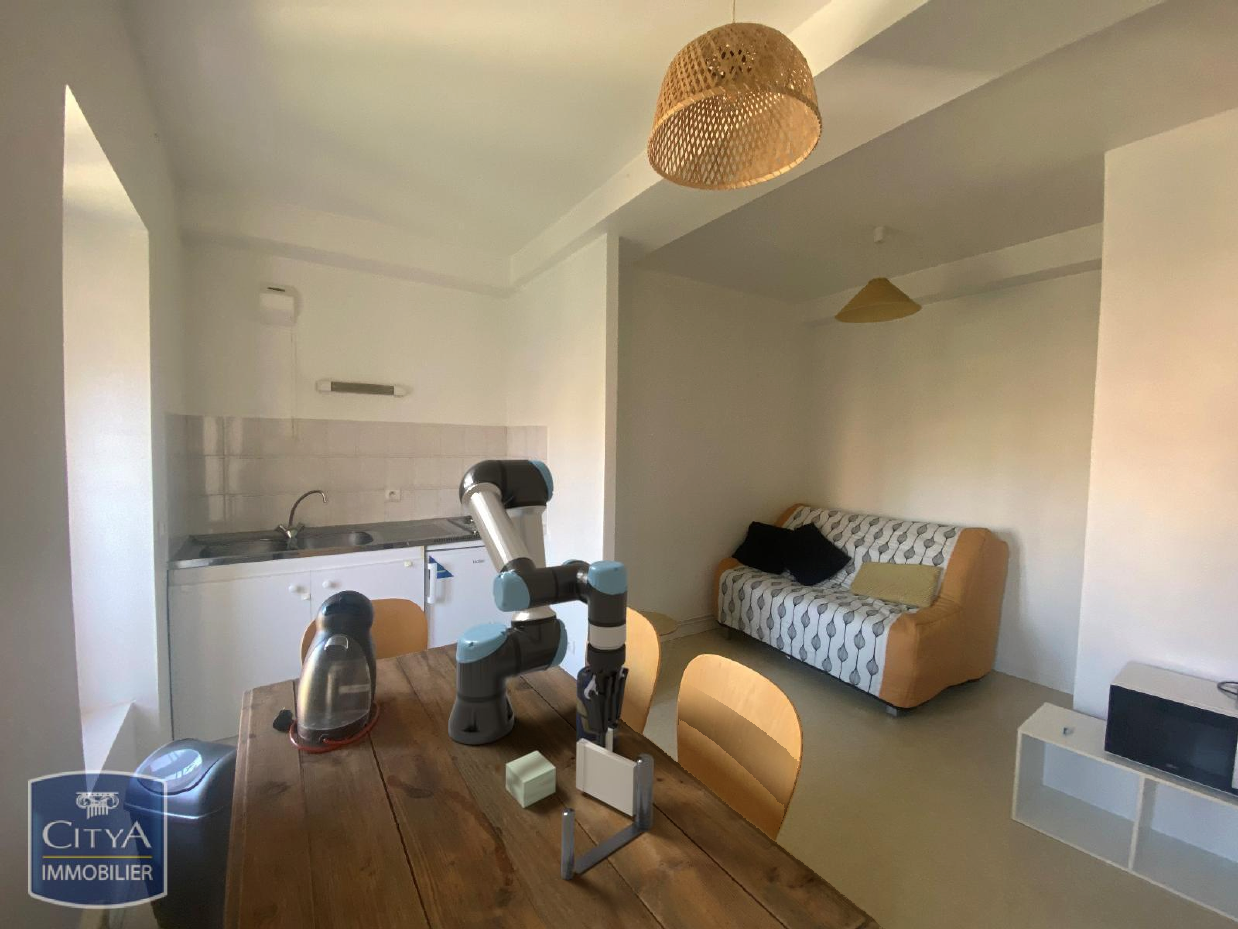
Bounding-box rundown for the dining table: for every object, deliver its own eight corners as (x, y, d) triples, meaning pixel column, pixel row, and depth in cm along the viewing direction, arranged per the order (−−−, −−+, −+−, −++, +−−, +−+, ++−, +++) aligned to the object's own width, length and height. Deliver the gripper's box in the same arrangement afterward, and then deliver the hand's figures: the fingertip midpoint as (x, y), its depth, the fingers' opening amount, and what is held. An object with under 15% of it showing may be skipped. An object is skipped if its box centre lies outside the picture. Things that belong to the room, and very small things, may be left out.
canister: (612, 761, 107) (614, 678, 107) (570, 754, 109) (571, 673, 108) (621, 736, 117) (623, 660, 116) (582, 730, 118) (583, 655, 118)
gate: (637, 811, 91) (638, 763, 91) (631, 817, 90) (632, 768, 89) (581, 782, 99) (582, 738, 98) (575, 787, 97) (576, 742, 97)
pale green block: (505, 789, 98) (505, 764, 98) (536, 774, 103) (536, 750, 103) (523, 809, 93) (523, 782, 93) (555, 792, 97) (555, 767, 97)
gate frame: (556, 871, 79) (558, 797, 79) (644, 815, 92) (645, 751, 91) (567, 884, 77) (569, 808, 76) (655, 825, 89) (657, 759, 89)
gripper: (610, 628, 104) (608, 738, 105) (570, 648, 94) (568, 771, 94) (640, 636, 100) (638, 751, 101) (602, 659, 89) (600, 787, 90)
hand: (604, 761), depth 98 cm, fingers closed
